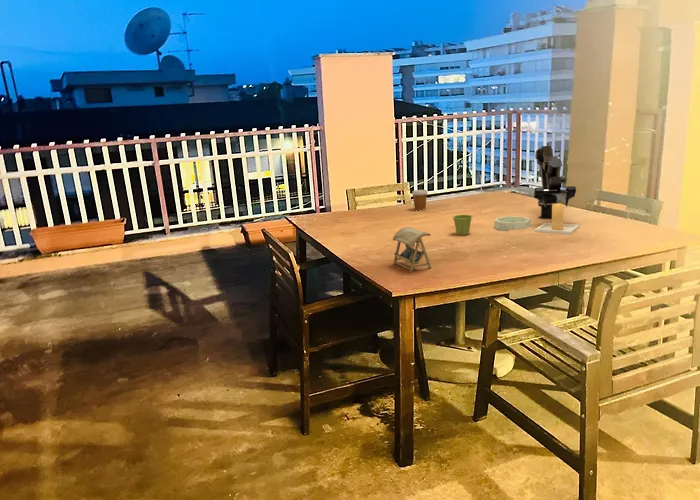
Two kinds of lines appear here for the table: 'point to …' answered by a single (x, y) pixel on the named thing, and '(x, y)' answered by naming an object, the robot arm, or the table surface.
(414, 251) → the swing bench
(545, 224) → the parts tray
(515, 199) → the table surface
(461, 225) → the plant pot
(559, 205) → the orange tapered cylinder
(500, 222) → the sage bowl
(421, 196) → the disposable coffee cup
